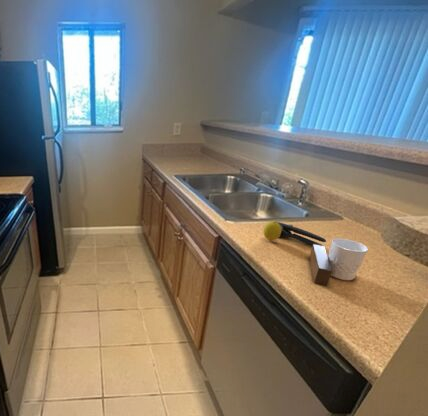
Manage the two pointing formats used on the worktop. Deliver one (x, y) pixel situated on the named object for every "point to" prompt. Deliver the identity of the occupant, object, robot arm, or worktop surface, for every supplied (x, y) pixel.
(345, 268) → the white cup
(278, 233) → the lemon
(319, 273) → the walnut rail
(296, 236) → the can opener
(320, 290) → the worktop surface
